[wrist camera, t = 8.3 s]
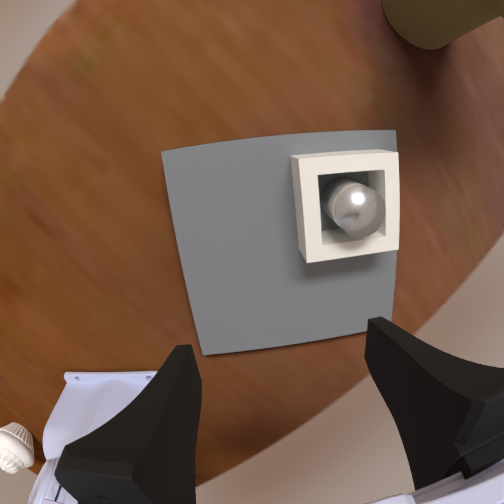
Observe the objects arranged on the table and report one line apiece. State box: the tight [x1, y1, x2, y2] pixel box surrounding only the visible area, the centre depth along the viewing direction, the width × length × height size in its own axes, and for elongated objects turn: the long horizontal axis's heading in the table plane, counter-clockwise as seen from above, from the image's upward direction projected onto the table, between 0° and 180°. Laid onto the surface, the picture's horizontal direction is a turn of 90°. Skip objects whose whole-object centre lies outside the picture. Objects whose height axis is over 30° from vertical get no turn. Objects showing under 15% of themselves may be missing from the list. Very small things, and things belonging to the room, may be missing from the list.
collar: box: [290, 149, 400, 263], centre depth 18 cm, size 6×6×2 cm
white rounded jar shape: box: [0, 423, 34, 474], centre depth 24 cm, size 6×6×7 cm
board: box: [161, 130, 397, 355], centre depth 20 cm, size 14×14×1 cm
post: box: [320, 177, 385, 238], centre depth 17 cm, size 3×3×4 cm
